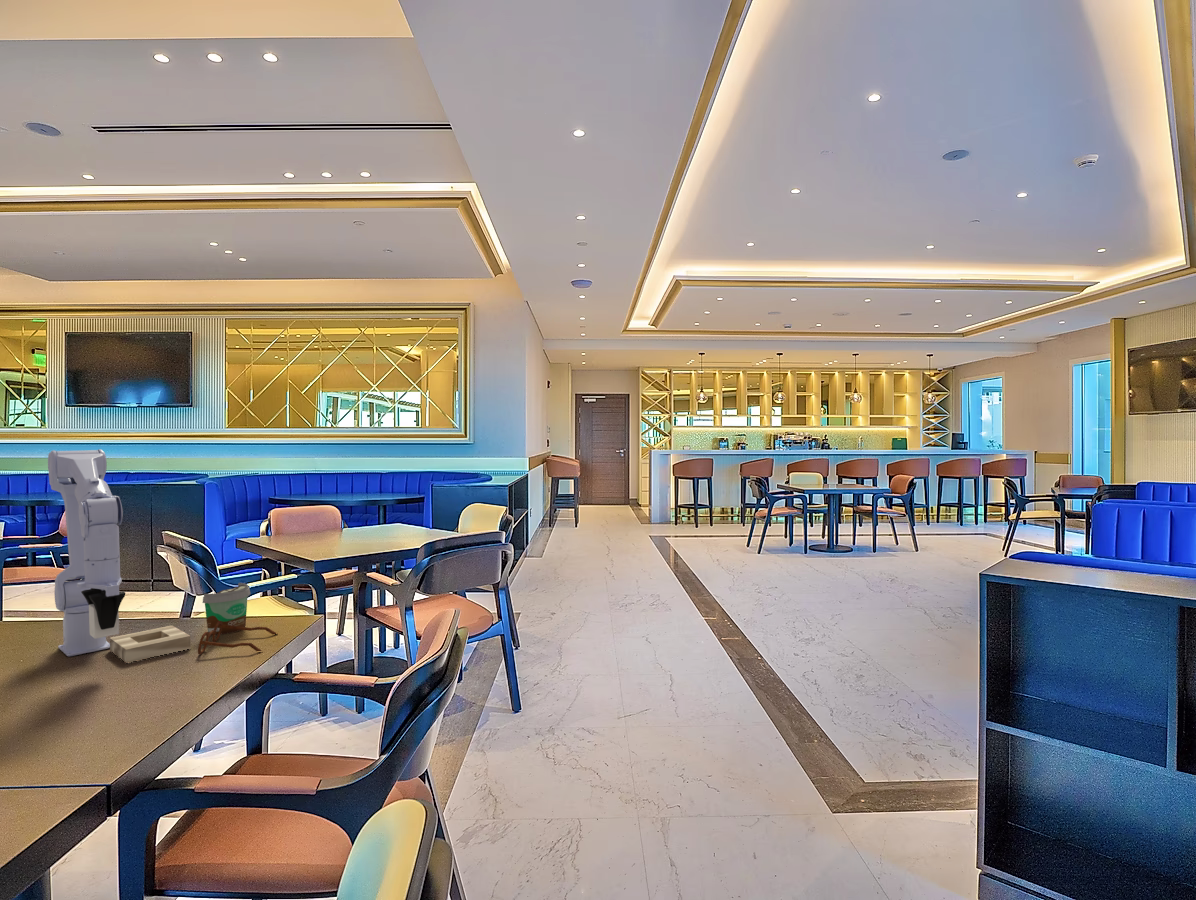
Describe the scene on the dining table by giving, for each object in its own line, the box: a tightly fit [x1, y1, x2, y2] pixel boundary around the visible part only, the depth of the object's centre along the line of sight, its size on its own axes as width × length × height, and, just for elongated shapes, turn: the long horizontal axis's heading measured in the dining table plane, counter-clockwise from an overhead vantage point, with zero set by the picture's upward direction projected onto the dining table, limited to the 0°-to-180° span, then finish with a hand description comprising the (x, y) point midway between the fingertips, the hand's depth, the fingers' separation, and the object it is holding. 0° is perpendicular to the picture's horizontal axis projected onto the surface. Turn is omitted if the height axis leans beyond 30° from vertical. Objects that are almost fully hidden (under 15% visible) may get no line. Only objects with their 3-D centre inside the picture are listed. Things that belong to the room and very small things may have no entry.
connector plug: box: [89, 604, 120, 639], centre depth 135 cm, size 4×4×6 cm
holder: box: [109, 625, 192, 664], centre depth 149 cm, size 12×12×3 cm
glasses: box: [197, 621, 277, 655], centre depth 152 cm, size 13×13×5 cm
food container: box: [202, 582, 252, 636], centre depth 163 cm, size 12×6×10 cm, turn 168°
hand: (104, 626), depth 135 cm, fingers closed on connector plug, 4 cm apart
